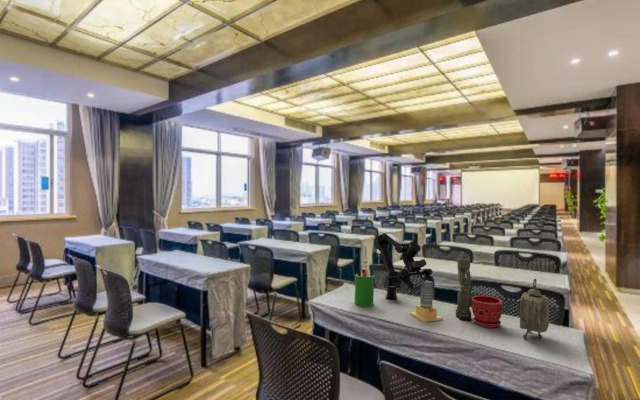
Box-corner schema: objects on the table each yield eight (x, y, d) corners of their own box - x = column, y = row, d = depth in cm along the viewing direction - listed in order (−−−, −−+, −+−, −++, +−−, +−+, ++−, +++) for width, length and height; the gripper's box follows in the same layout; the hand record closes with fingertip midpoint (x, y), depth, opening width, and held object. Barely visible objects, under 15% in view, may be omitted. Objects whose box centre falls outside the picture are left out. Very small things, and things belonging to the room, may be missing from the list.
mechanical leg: (475, 322, 160) (473, 257, 167) (459, 320, 161) (457, 257, 168) (468, 319, 173) (467, 260, 180) (453, 318, 174) (452, 259, 181)
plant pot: (477, 317, 169) (477, 293, 169) (505, 324, 160) (506, 299, 160) (466, 323, 160) (466, 298, 160) (496, 331, 151) (496, 304, 151)
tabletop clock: (525, 329, 155) (526, 274, 155) (548, 334, 149) (550, 277, 149) (519, 339, 143) (520, 279, 143) (544, 345, 138) (546, 283, 138)
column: (420, 304, 169) (420, 280, 169) (427, 304, 170) (427, 280, 170) (425, 307, 165) (425, 282, 165) (432, 306, 167) (433, 282, 167)
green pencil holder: (372, 302, 190) (373, 266, 190) (373, 307, 182) (374, 269, 182) (354, 301, 191) (355, 265, 191) (354, 306, 183) (355, 268, 183)
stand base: (410, 314, 171) (410, 304, 171) (428, 312, 175) (428, 302, 175) (423, 322, 161) (423, 311, 161) (442, 319, 164) (442, 309, 164)
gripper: (400, 254, 174) (412, 281, 164) (431, 253, 180) (444, 279, 170) (392, 266, 182) (402, 292, 171) (421, 265, 188) (433, 290, 177)
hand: (421, 288), depth 172 cm, fingers open, 9 cm apart
